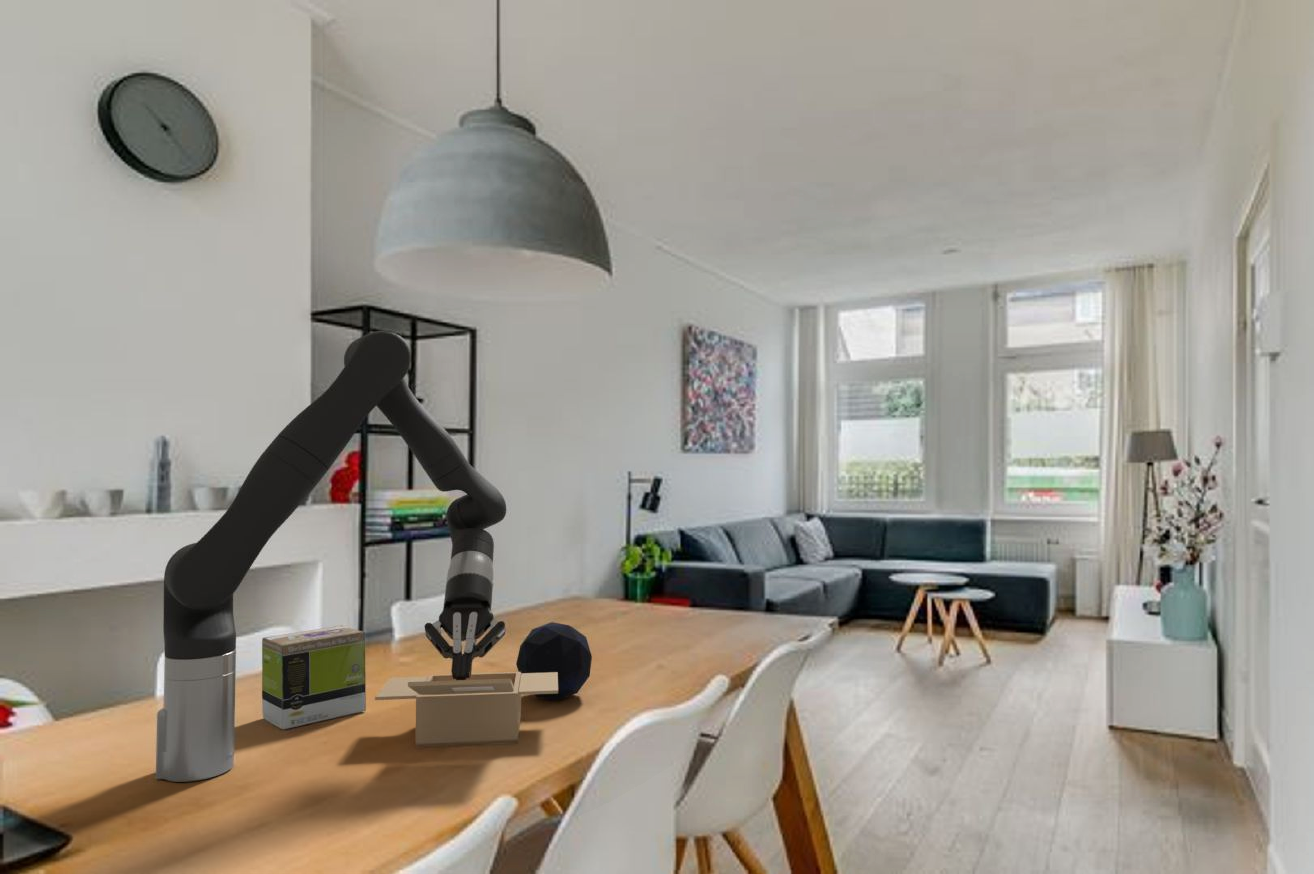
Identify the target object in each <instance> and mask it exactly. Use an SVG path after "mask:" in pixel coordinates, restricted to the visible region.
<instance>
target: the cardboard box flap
mask: <svg viewBox="0 0 1314 874" xmlns="http://www.w3.org/2000/svg"><path fill="white" fill-rule="evenodd" d="M408 687H409V688H411V689H412V690H414V691H415V692H417V693H418V694H420V695H424V694H452V693H479V692H507V691H514V686H513V683H512V681H511V679H482V680H453V681H424V682H408Z"/></svg>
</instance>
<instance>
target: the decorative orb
mask: <svg viewBox="0 0 1314 874" xmlns="http://www.w3.org/2000/svg"><path fill="white" fill-rule="evenodd" d="M592 658H593V656H592V653H591V649H590V645H589V642H588V639H587V636H585V634H583V633H581V632H580V631H578V629H576V628H574V627H573V626H571V625H569V624H565V623H559V622H553V621H551V622H548V623H546V624H542V625H540V626H537V627H534V628H532V629H531V630H530V632H529V633H528V634H527V636H526V637H525V638H524V640H523V641H522V643H521V644H520V645H519V650H518V654H517V659H516V663H515V664H516V667H517V672H521V673H549V672H558V693H555V694H533V695H534V696H535V697H536V698H541V699H544V700H545V699H546V700H551V701H555V702H558V701H561V700H563V699H566V698H569V697H570V696H573V695H575V694H578V692H579V691H580V690H581V689H582V687H583V686H584V684H585V683H586V682H587V681H588V679H589V677H590V675H591V667H592V660H593V659H592Z"/></svg>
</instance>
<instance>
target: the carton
mask: <svg viewBox="0 0 1314 874" xmlns="http://www.w3.org/2000/svg"><path fill="white" fill-rule="evenodd" d="M482 679H511V681H512V683H513V686H514V691H507V692H479V693H452V694H424V695H420V694H418V693H417V692H415V691H414V690H412V689H411V688H409V687H408V682H424V681H453V680H456V679H453V677H452V673H448V674H446V673H445V674H443V673H442V674H440V673H439V674H428V676H408V677H403V676H402V677H389V679H388V680H387V681H386V682H385V684H384V685H383V686H382V687H381V689H380V690H379V692H378V693H377V694H376V695H375V697H374V700H375V701H388V700H390V701H391V700H415V749H417V748H418V749H419V748H420V749H421V748H436V747H437V748H440V747H442V748H443V747H445V748H446V747H462V746H463V747H464V746H483V745H485V746H486V745H488V746H489V745H490V746H491V745H507V744H518V741H519V733H520V727H521V720H522V719H521V717H522V715H521V713H522V695H526V696H527V695H528V696H529V695H534V694H555V693H558V672H549V673H521V672H518V671H507V672H504V671H503V672H479V673H478V672H475V673H473V672H471V676H470V678H466V680H482Z"/></svg>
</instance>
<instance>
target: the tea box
mask: <svg viewBox="0 0 1314 874" xmlns="http://www.w3.org/2000/svg"><path fill="white" fill-rule="evenodd" d="M365 635H366V632H365V631H362V630H357V629H354V628H351V627H346V626H344V625H336V626H330V627H324V628H318V629H310V630H304V631H297V632H290V633H286V634H284V633H283V634H279V635H278V634H277V635H271V636H270V635H269V636H266V637H262V640H261V641H262V642H261V653H262V654H261V656H262V657H261V665H262V666H261V667H262V668H261V673H262V674H261V675H262V676H261V682H262V683H261V698H262V700H261V706H262V707H261V709H262V711H261V712H262V718H263V719H264V720H265V721H267V722H268V723H270V724H272V725H273V726H276V727H277V728H278V729H281V730H287V729H291V728H297V727H301V726H306V725H309V724H314V723H317V722H322V721H326V720H331V719H336V718H339V717H344V716H349V715H353V714H357V713H362V712H366V710H367V704H366V703H367V701H366V700H367V698H366V697H367V696H366V694H367V692H366V681H367V678H366V674H367V673H366V636H365Z"/></svg>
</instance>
